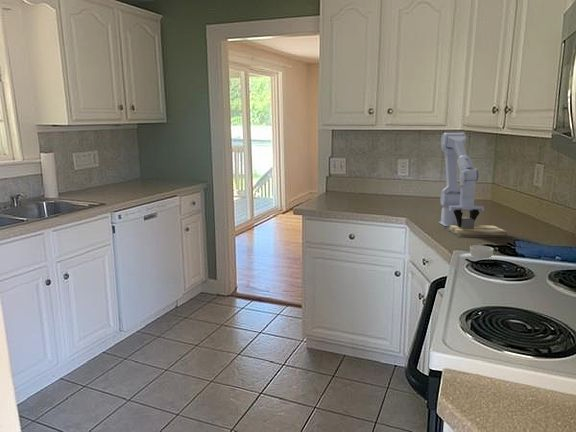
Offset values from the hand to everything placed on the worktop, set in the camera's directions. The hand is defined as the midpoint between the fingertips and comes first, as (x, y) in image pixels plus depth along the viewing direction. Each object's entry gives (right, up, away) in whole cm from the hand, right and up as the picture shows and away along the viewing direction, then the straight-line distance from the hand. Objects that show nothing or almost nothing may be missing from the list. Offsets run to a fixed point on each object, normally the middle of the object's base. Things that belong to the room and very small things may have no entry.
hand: (465, 226), depth 193 cm
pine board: (+6, -3, 0) cm, 6 cm away
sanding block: (0, -1, 0) cm, 1 cm away
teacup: (-12, -11, -44) cm, 47 cm away
